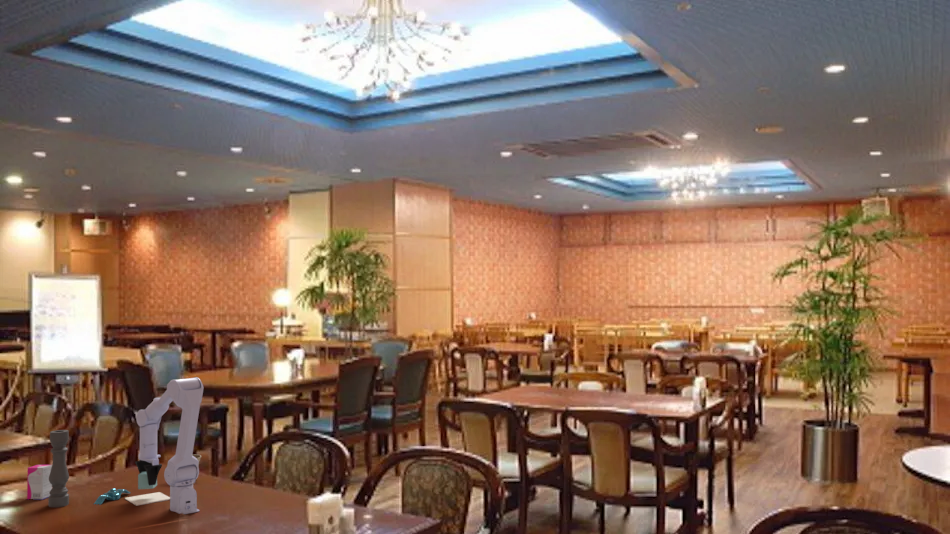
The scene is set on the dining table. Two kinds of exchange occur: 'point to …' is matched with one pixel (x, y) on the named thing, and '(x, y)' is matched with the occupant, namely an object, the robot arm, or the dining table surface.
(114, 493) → the flying bird
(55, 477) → the candle holder
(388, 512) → the dining table surface
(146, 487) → the teal cube
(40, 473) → the supplement box
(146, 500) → the mat
